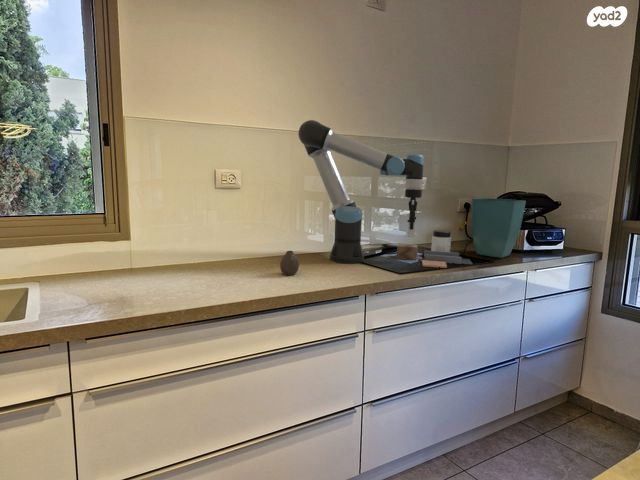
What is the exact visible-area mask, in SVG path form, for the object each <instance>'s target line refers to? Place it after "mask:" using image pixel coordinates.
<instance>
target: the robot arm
mask: <svg viewBox="0 0 640 480" xmlns="http://www.w3.org/2000/svg"><path fill="white" fill-rule="evenodd" d="M298 139H299V140H300V142H301V144H303V146H304V148H305V151H306V154H307V155H308V157H310V158H312V159H313V162H314V163H315V166H316V169H317V172H318V173H319V176H320V178H321V180H322V181H321V182H322V183H323V185H324V187H325V190H326V192H327V195H328V198H329V199H330V201H331V204H332V208H331V213H332V216H333V218H334V242H333V245H332V248H331V251H330V253H329V260H330V261H332V262H335V263H343V264H360V263H363V262H364V261H365V255H364V251H363V248H362V243H361V241H362V239H361V238H362V220H363V210H362V209H361V208H360V207H358V206H357V204H356V202H355V200H354V199H351V198H350V195H349V194H348V191H347V188H346V186H345V184H344V182H343V178H342V176H341V174H340V171H339V169H338V166H337V164H336V161H335V160H334V159H335V158H334V157H333V155H332V153H331V152H333V153H334V152H335V153H337V154H339V155H341V156H345V157H346V158H349V159H351V160H354V161H357V162H359V163H362V164H364V165H367V166H369V167H372V168H374V169H377V170H379V173H380V176H405V184H404V185H405V188H406V189H405V190H404V197H405V198H410V199H409V200H408V210H409V217H408V220H407V223H408V227H407V228H408V234H407V236H408V237H413V238H414V237H415V227H416V220H417V216H416V211H417V208H418V201H417V199H421V198H422V196H423V195H422V194H423V190H422V188H423V185H424V181H423V177H424V176H423V175H424V165H425V164H424V156H423V155H422V154H408V155H407V156H406V158H401V157H399V156H395V155H391V154H389V153H387V152H385V151H382V150H379V149H377V148H374V147H372V146H369V145H367V144H364V143H361V142H359V141H357V140H354V139H352V138H350V137H347V136H344V135H342V134H340V133H337V132H335V131H333V129H332V128H331V127H328V126H326V125H324V124H322V123H320V122H319V121H317V120H313V119H309V120H306V121H304V122H302V124H301V125H300V126H299V129H298Z"/></svg>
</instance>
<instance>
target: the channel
mask: <svg viewBox="0 0 640 480" xmlns="http://www.w3.org/2000/svg"><path fill="white" fill-rule="evenodd" d="M423 251H424V252H423V257H424V259H423V260H429V261H442V262H446V264H453V263H454V264H455V265H462V263H461V262H462V259H463V257H462V256H460V252H452V251H450V252H439V251H431V250H423Z"/></svg>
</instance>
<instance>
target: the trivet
mask: <svg viewBox="0 0 640 480" xmlns="http://www.w3.org/2000/svg"><path fill="white" fill-rule="evenodd" d="M421 265H422V267H426V268H427V267H429V268H439V267H440V268H442V269H447V268H448V265H447V263H446V262H442V261H429V260H424V259H422V260H421Z"/></svg>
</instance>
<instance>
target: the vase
mask: <svg viewBox="0 0 640 480" xmlns="http://www.w3.org/2000/svg"><path fill="white" fill-rule="evenodd" d="M279 266H280V267H279V268H280V271H281V272H282V274H283V275H285V276H287V277H288V276H295V275H296V274H297V273H298V271H299V268H300V267H299V266H300V262H299V258H298V257H297V255H296V254H295V252H294V251H293V250H286V252H285V254H284V255H283V256H282V257H281V260H280V265H279Z"/></svg>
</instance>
